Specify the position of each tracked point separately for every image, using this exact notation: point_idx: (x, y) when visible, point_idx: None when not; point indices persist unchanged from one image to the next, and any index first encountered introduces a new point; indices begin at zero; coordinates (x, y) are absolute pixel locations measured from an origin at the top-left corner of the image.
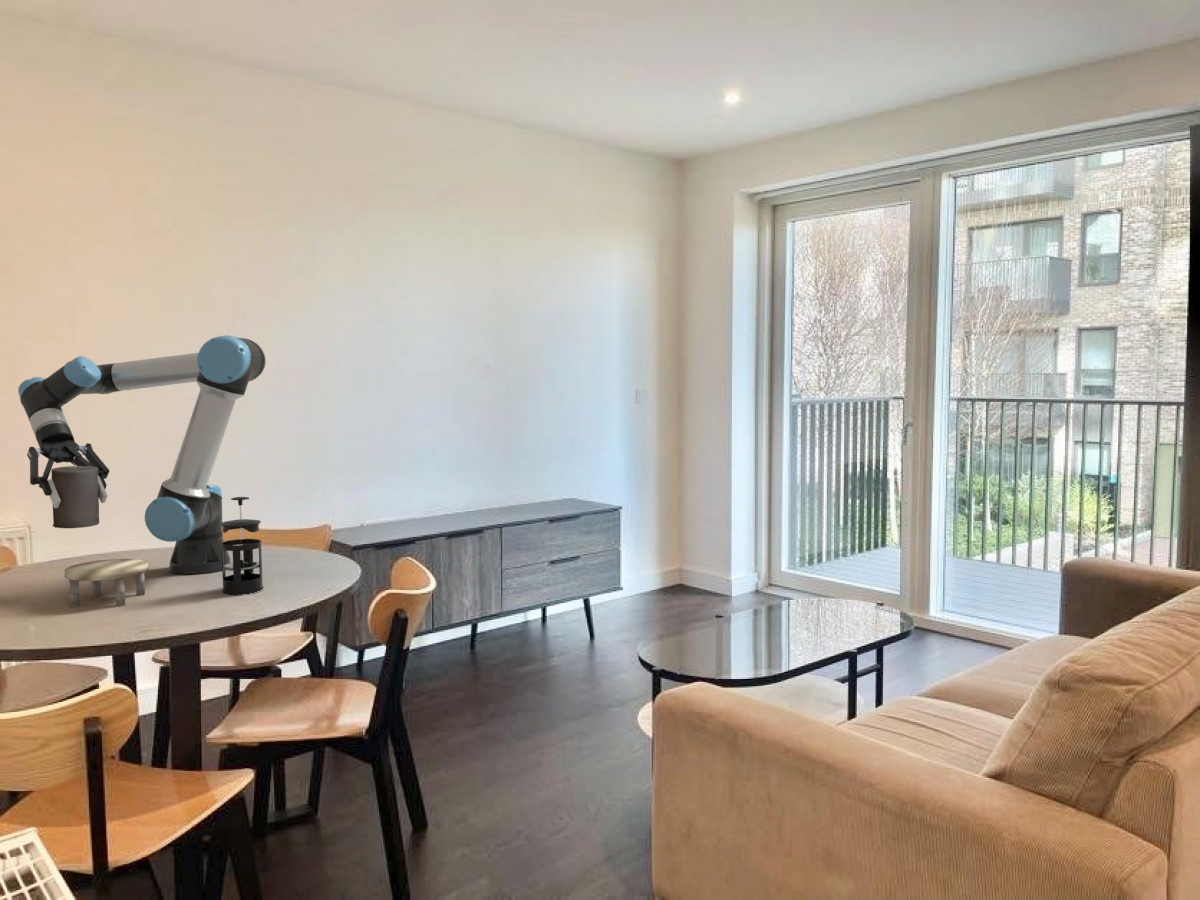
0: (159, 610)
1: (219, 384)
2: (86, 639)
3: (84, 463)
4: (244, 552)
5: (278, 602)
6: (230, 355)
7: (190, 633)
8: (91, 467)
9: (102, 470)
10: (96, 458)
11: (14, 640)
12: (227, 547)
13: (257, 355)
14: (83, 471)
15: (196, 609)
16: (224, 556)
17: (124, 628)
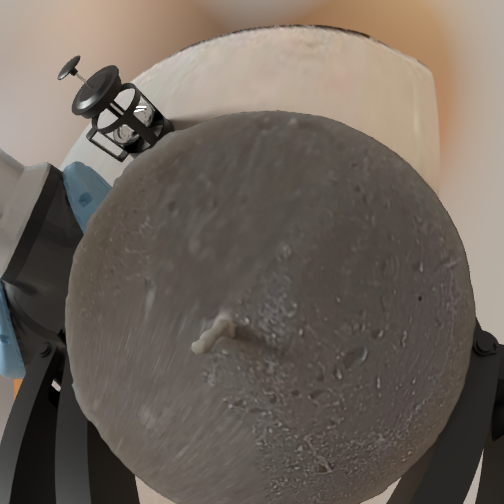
0: (268, 101)
1: None
2: (367, 51)
3: (86, 455)
4: (108, 138)
5: (168, 76)
6: None
7: (282, 26)
8: (87, 308)
9: (58, 332)
10: (11, 445)
11: (431, 90)
12: (137, 91)
13: None
14: (228, 117)
15: (235, 85)
16: (134, 128)
17: (327, 60)
